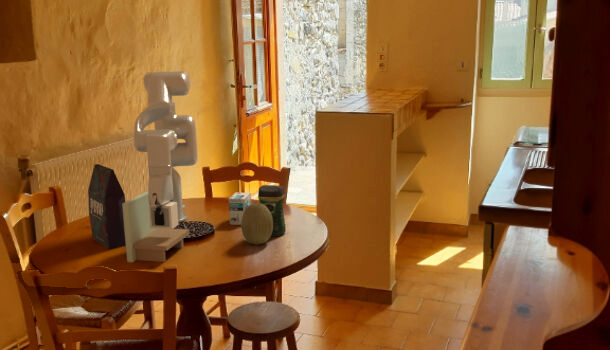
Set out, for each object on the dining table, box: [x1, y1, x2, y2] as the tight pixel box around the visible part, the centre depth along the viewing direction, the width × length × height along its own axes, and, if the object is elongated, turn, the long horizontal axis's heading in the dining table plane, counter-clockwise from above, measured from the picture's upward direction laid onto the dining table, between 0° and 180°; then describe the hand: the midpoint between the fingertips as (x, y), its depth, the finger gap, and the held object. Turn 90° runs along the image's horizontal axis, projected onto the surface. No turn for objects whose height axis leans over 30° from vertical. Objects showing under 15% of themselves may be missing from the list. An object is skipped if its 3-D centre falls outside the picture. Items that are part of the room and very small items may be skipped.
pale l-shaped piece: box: [122, 190, 190, 263], centre depth 203 cm, size 20×14×20 cm
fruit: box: [240, 202, 273, 246], centre depth 212 cm, size 11×11×15 cm
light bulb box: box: [228, 191, 252, 226], centre depth 240 cm, size 11×7×11 cm, turn 171°
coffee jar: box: [257, 184, 287, 237], centre depth 223 cm, size 10×8×19 cm
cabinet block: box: [149, 202, 179, 229], centre depth 202 cm, size 5×8×8 cm, turn 77°
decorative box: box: [87, 163, 126, 250], centre depth 216 cm, size 8×16×28 cm, turn 40°
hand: (163, 221), depth 203 cm, fingers closed on cabinet block, 5 cm apart
